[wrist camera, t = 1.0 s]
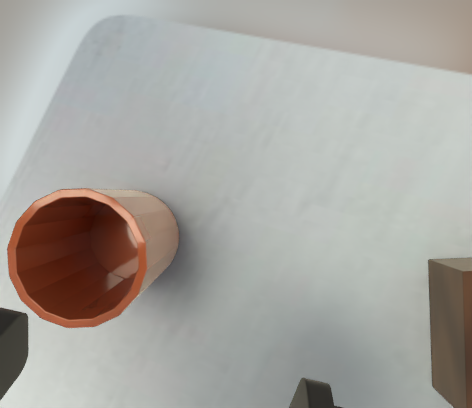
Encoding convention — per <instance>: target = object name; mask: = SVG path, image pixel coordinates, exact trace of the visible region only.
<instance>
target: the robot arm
mask: <svg viewBox="0 0 472 408" xmlns="http://www.w3.org/2000/svg"><path fill="white" fill-rule="evenodd" d="M27 357H28V316H27V314H26V313H22V312H18V311H13V310H9V309H4V308H0V400H1V399H2V397H3V396H4V395H5V393H6V392H7V391H8V389H9V388H10V387H11V385H12V384H13V383H14V381H15V380H16V379H17V377H18V376H19V375H20V373H21V371H22V370H23V368H24V366H25V363H26V360H27ZM289 408H342V407H337V406H334V402H333V397H332V392H331V388H330V385H329V384H328V383H323V382H319V381H315V380H310V379H306V378H302V379H301V380H300V382H299V385H298V387H297V390H296V392H295V395H294V397H293V399H292V402H291V404H290V407H289Z"/></svg>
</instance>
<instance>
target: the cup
mask: <svg viewBox="0 0 472 408" xmlns="http://www.w3.org/2000/svg"><path fill="white" fill-rule="evenodd" d="M178 244H179V230H178V225H177V222H176V219H175V217H174V215H173V213H172V212H171V210H170V209H169V208H168V206H167V205H166V204H165V203H164V202H162V201H161V200H160V199H158V198H157V197H155V196H153V195H151V194H148V193H145V192H141V191H137V190H114V189H91V188H81V189H60V190H57V191H55V192H53V193H51V194H49V195H47V196H45V197H43V198H41V199H38V200H36V201H35V202H34V203H33V204H32V205H31V206H30V207H29V208H28V209H27V210H26V212H25V213H24V214H23V215H22V216H21V217H20V218H19V219H18V221H17V222H16V224H15V227H14V230H13V233H12V236H11V238H10V241H9V244H8V248H7V251H8V268H9V276H10V279H11V281H12V283H13V285H14V287H15V289H16V291H17V293H18V295H19V297H20V299H21V300H22V302H24V303H25V304H26V305H27V306H28V307H29V308H30V309H31V310H32V311H34V312H35V313H36V314H37V315H38V316H39V317H40V318H42V319H44V320H47V321H49V322H52V323H55V324H58V325H60V326H63V327H66V328H79V327H95V326H98V325H100V324H102V323H104V322H106V321H109V320H111V319H113V318H115V317H117V316H119V315H120V314H121V313H122V312H123V311H124V310H125V309H126V308H127V307H128V306H129V305H130V304H131V303H132V302H133V301H134V300H135V299H136V298H137V297H138V296H139V295H140V294H141V293H142V292H144V291H145V290H146V289H147V288H148V287H149V286H150V285H151V284H152V283H153V282H154V281H155V280H156V279H157V278H158V277H159V276H160V275H161V273H162V272H163V271H164V270H165V269H166V268H167V267H168V266H169V265H170V264H171V262H172V260H173V259H174V257H175V254H176V252H177V248H178Z"/></svg>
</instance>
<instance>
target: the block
mask: <svg viewBox="0 0 472 408" xmlns="http://www.w3.org/2000/svg"><path fill="white" fill-rule="evenodd" d="M429 291H430V322H431V353H432V383H433V387H434V388H435V389H436V390H437V391H438V392H439V393H440V394H441V395H442V396H443V397H444V398H445V399H446V400H447V401H448V402H449V403H450V404H451V405H452V406H453V407H454V408H472V258H454V259H430V260H429Z"/></svg>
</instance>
